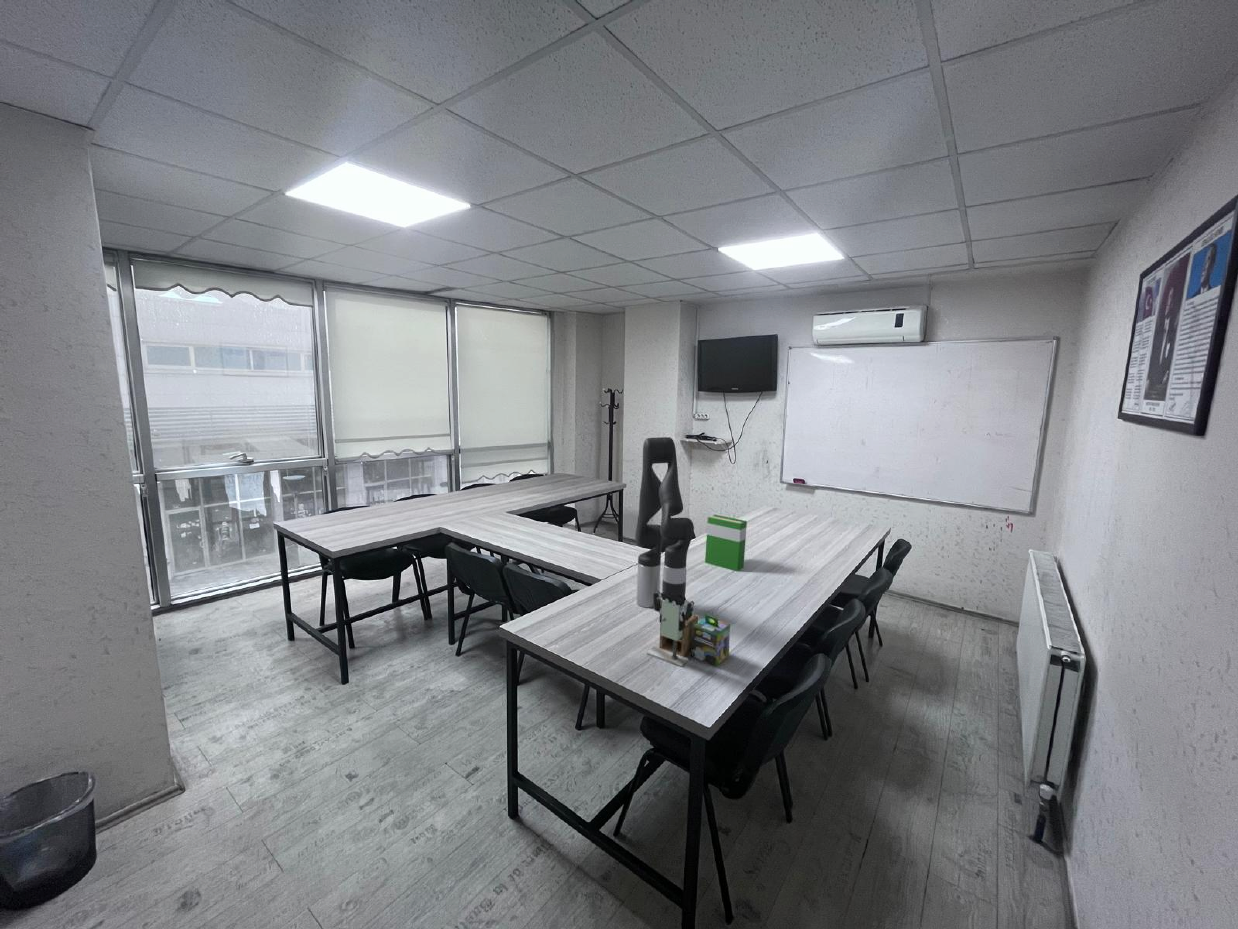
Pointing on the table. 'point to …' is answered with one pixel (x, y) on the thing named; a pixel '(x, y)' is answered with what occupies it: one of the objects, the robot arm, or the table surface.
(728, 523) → the hardback book
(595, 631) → the table surface
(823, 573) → the table surface
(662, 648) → the small wooden cupboard
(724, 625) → the chalk box
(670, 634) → the hollow square pipe
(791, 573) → the table surface
